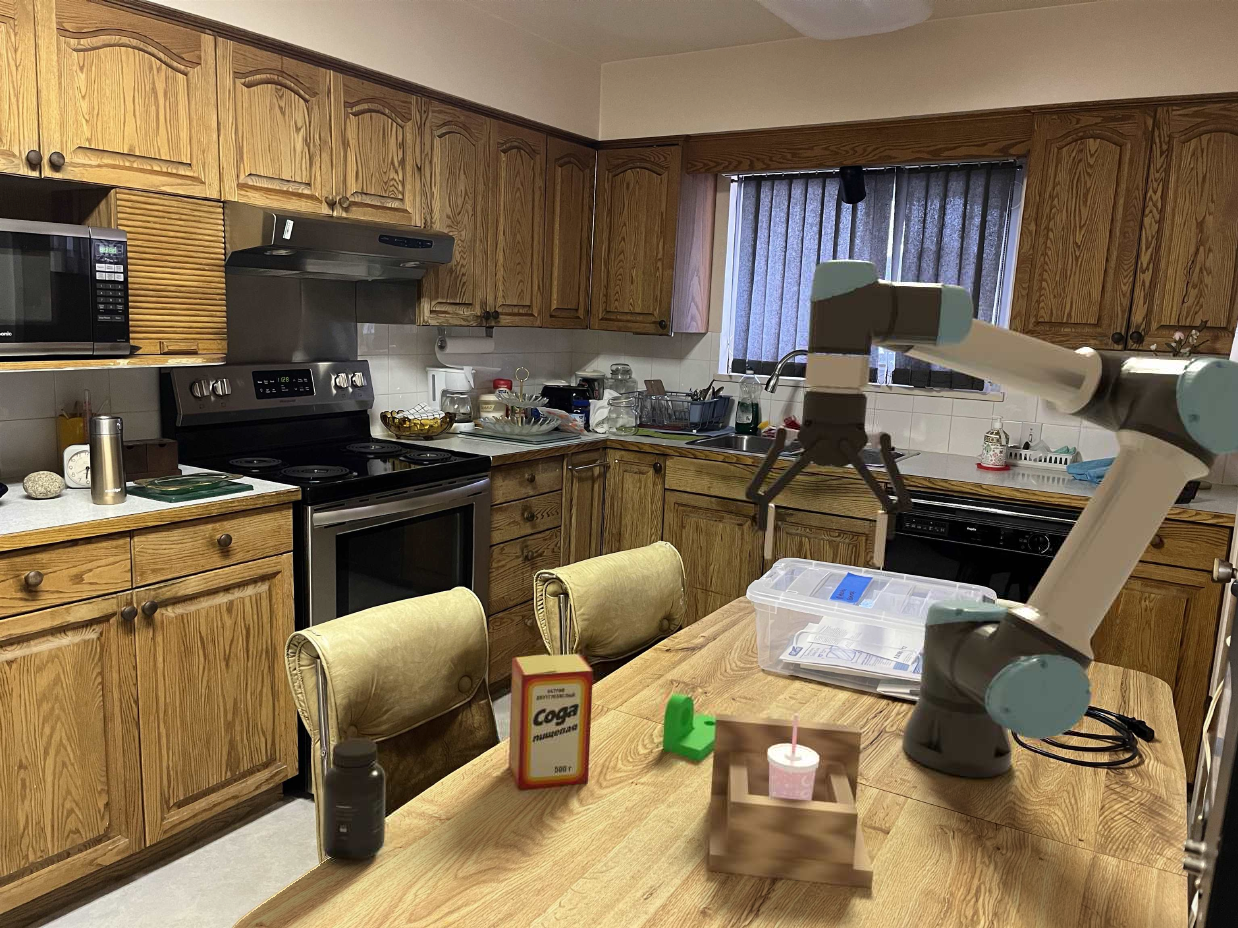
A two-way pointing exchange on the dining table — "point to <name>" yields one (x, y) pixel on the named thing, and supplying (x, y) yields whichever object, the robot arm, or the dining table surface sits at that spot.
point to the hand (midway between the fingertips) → (822, 560)
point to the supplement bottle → (354, 802)
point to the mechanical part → (687, 729)
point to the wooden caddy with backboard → (786, 805)
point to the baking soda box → (550, 720)
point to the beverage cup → (792, 769)
